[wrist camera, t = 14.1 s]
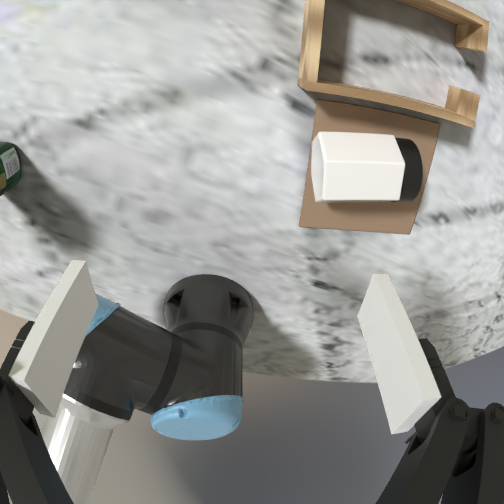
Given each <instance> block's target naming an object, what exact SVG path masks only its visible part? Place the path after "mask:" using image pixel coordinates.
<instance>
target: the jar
mask: <svg viewBox="0 0 504 504" xmlns="http://www.w3.org/2000/svg"><path fill="white" fill-rule="evenodd" d="M311 177H312V183H313V189H314V195H315V201H316V202H317V203H333V202H402V203H409V202H412V201H414V200H415V199H416V197H417V196H418V194H419V192H420V189H421V185H422V179H423V164H422V158H421V155H420V152H419V149H418V147H417V145H416V144H415V143H414V142H413V141H412V140H410V139H406V138H395V136H394V135H388V134H373V133H355V132H324V131H320V132H319V133H318V134H317V135H316V137H315V138H314V140H313V141H312V157H311Z"/></svg>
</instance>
